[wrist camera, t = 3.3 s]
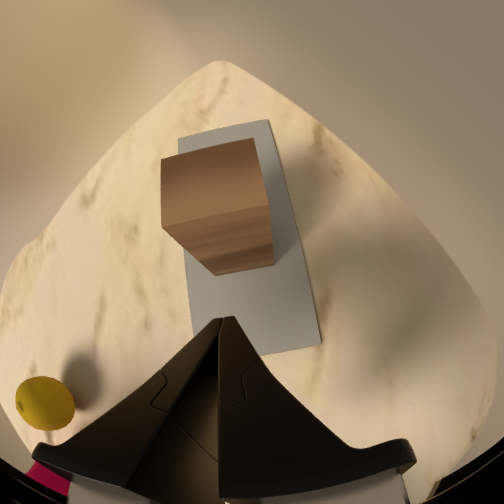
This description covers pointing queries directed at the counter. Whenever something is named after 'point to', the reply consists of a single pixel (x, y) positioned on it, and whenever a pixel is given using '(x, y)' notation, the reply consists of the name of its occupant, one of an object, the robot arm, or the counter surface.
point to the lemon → (45, 403)
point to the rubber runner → (261, 279)
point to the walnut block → (218, 207)
